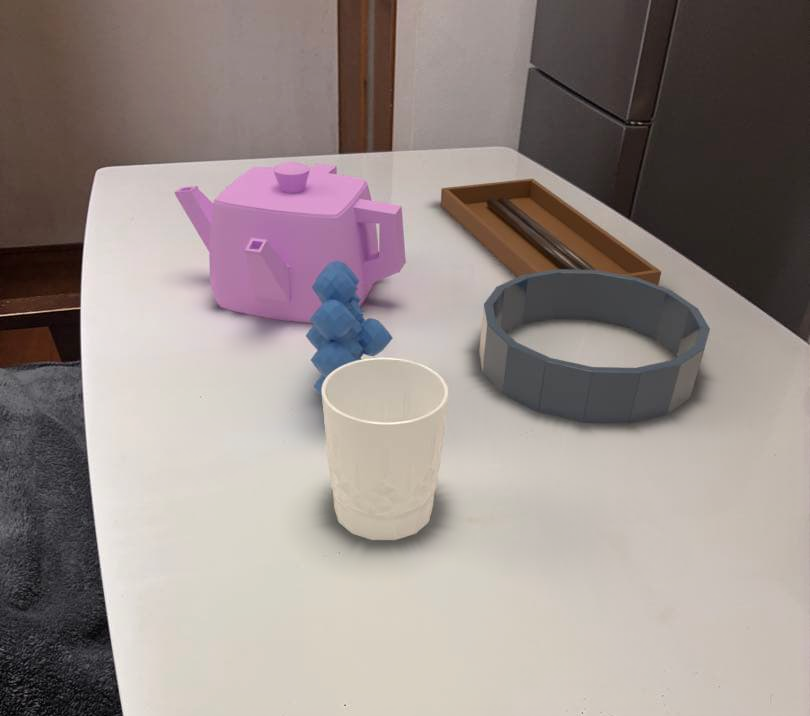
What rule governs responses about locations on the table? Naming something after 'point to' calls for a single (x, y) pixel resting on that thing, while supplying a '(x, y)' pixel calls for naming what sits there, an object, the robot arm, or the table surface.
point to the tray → (552, 216)
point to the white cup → (384, 444)
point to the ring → (579, 384)
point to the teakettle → (292, 237)
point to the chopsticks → (537, 235)
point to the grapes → (341, 323)
